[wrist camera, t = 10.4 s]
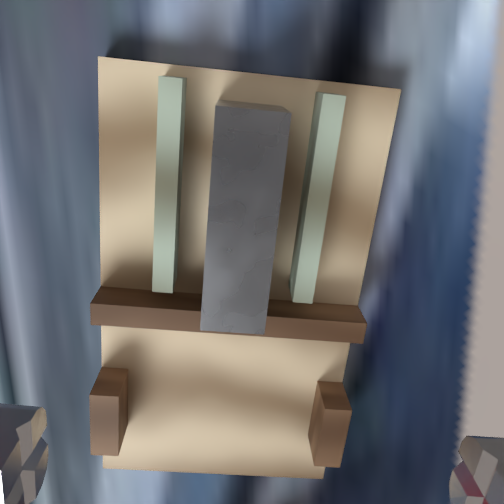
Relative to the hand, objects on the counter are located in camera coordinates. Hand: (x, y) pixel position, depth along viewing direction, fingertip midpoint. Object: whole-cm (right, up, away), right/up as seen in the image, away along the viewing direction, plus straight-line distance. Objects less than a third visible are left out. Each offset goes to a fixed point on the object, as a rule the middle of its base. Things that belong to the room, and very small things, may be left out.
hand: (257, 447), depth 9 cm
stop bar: (-1, +6, +15) cm, 16 cm away
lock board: (-1, +1, +18) cm, 18 cm away
